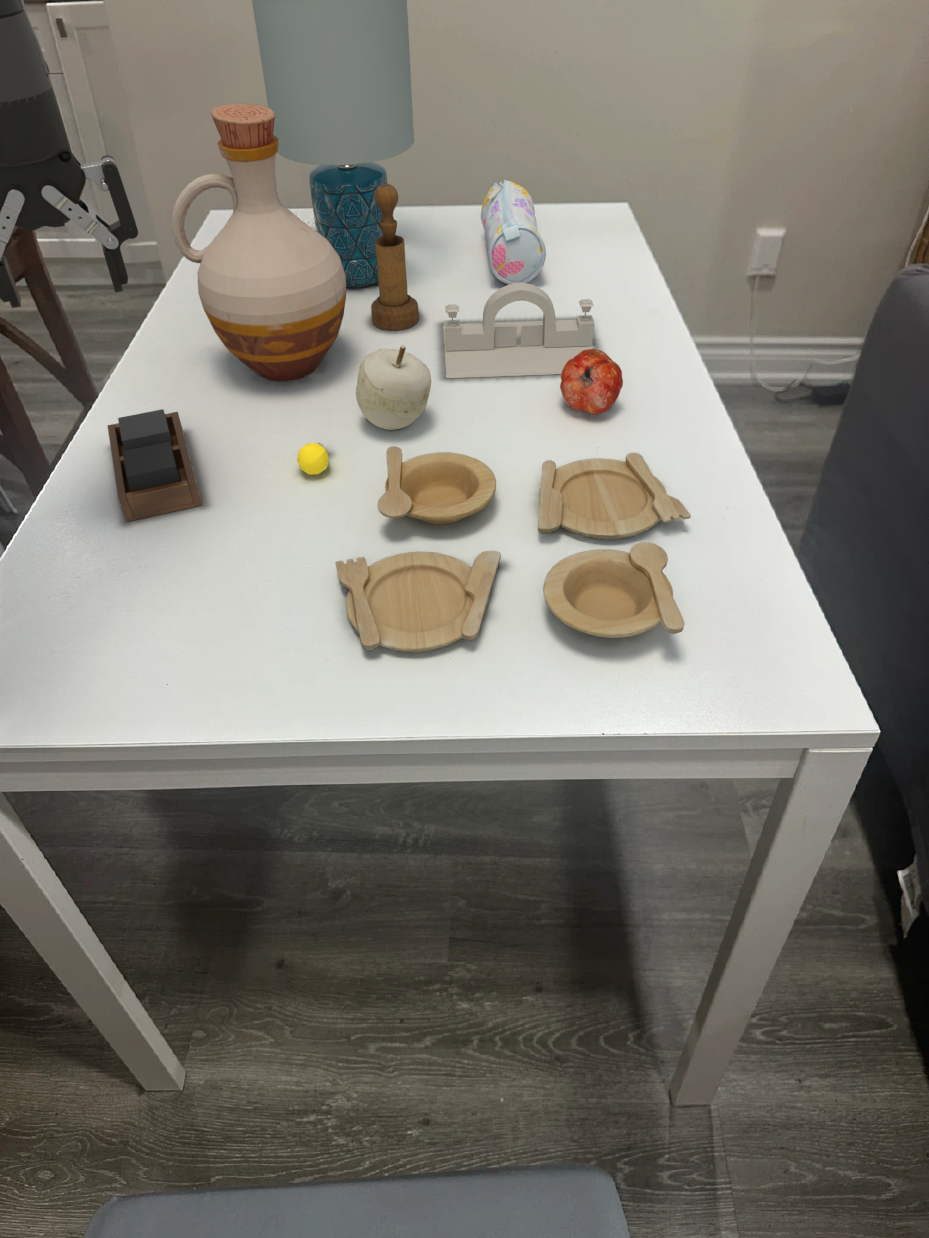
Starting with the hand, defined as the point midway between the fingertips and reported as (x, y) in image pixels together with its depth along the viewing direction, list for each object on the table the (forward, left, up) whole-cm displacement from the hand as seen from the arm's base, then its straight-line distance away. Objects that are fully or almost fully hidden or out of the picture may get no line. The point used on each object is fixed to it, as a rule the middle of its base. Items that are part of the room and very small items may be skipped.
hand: (68, 296), depth 76 cm
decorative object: (+30, +6, -24) cm, 39 cm away
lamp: (+37, +48, -23) cm, 65 cm away
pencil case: (+61, +44, -24) cm, 79 cm away
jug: (+20, +25, -23) cm, 40 cm away
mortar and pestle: (+38, +32, -23) cm, 55 cm away
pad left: (+2, +2, -23) cm, 23 cm away
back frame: (+2, +6, -23) cm, 24 cm away
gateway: (+51, +18, -23) cm, 59 cm away
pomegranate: (+53, +1, -24) cm, 58 cm away
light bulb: (+19, +1, -24) cm, 30 cm away
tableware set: (+34, -21, -23) cm, 47 cm away
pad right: (+2, +9, -23) cm, 25 cm away
